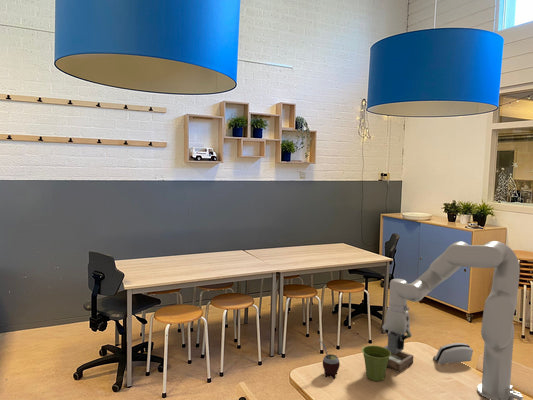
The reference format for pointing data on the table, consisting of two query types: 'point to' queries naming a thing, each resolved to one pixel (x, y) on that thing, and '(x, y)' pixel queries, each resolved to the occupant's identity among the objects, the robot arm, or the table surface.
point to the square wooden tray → (399, 361)
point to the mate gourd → (330, 364)
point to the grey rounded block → (454, 353)
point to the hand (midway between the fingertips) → (395, 346)
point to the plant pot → (376, 361)
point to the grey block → (393, 343)
